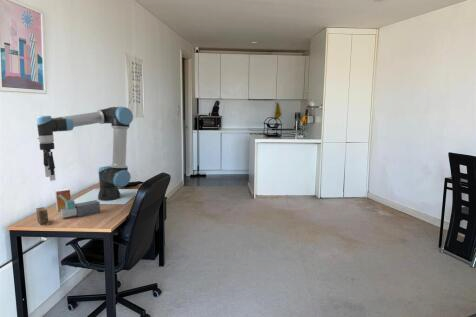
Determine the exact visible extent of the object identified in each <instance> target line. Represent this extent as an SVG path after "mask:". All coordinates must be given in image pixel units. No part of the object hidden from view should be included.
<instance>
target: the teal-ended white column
mask: <svg viewBox="0 0 476 317" xmlns="http://www.w3.org/2000/svg"><path fill="white" fill-rule="evenodd" d="M75 204H76V203H75V200H74V199H71V200H66V201H65V206H66V208H65V209H60V210H61V211H60V217H62V218H66V217H72V216H76V215H78V214H77V207H75Z"/></svg>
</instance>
